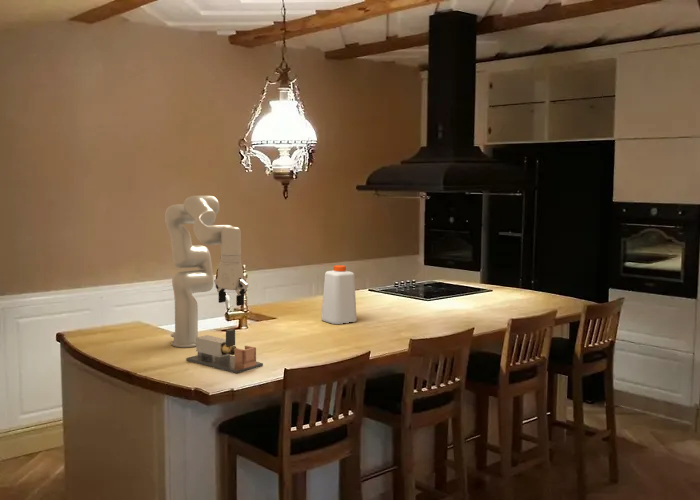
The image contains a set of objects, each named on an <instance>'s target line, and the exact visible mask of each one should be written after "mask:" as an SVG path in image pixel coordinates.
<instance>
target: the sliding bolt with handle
mask: <svg viewBox="0 0 700 500" xmlns="http://www.w3.org/2000/svg"><path fill="white" fill-rule="evenodd" d="M225 339H226V344H222V353H225V354H229V355H231V356H235V348H237V347H236V329H233V328H231V329H226V330H225Z"/></svg>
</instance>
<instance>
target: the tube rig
mask: <svg viewBox="0 0 700 500" xmlns="http://www.w3.org/2000/svg"><path fill="white" fill-rule="evenodd" d="M222 344H226V338H222V337H221V338H220V337H218V336H217V337H216V336H213V335H210V334H209V335H208V334H206V335H200V336H198V337H196V346H195V352H197V355H192V356H189V357H186V358H185V360H186V362H188V363H194V364H196V365H201V366H205V367H208V368H212V369H216V370H220V371H224V372H229V373H232V374H237V375H238V374H240V373H245V372H247V371H251V370H255V369H258V368H261V367H263V366H264V363H263V362H259V361H257V347H255V346H251V345H244V349H242V348H239V347H236V348H235V354H234V355H229V354H225V353H222Z"/></svg>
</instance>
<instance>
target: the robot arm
mask: <svg viewBox="0 0 700 500" xmlns="http://www.w3.org/2000/svg"><path fill="white" fill-rule="evenodd" d="M219 212H220V202H219V200H218V199H217V198H216V197H215V196H213V195H191V196H188V197H187V198H186V199H185V200H183V203H182V204H181V203H176V204H172V205H169V206H168V207H167V208H166V210H165V214H164V221H165V225H166V228H167V231H168V234H169V235H170V241H171V242H170V243H171V251H172V252H171V253H172V254H171V255H172V261H173V264H174V266H175V268H178V269H191V268H197V269H196V270H183V271H179V272H176V273H174V275H173V276H172V280H171V282H172V290H173V295H174V331H173V332H172V333H171V334H170V337H172V338H173V340H172V341H171V343H170V344H171V346H173V347H176V348H193V347H195V348H196V337H199V334H198V333H199V332H198V331H199V330H198V329H199V328H198V326H199V325H198V323H199V322H198V321H199V320H198V318H199V317H198V315H199V314H198V309H199V307H198V306H199V305H198V302H197V301H198V300H197V299H196V298H195V297H194V296H193V294H195V293H197V294H198V293H206V292H210V291H211V290H212V289H213V287H214V285H215V288H216V291H217V293H218V303H219V304H220V303H221V304H222V303H226V301H227V300H226V299H227V298H226V297H227V294H226V293H227V292H226V290H228V291H235V292H236V294H237V295H236V300H235V301H236V302H235V304H236V306H237V307H239V306H240V307H241V306H244V304H245V303H244V301H245V299H244V298H245V297H244V296H245V294H246V292H247V291H248V287H249V283H247V282H246V281H245V280H244V270H243V264H242V231H241V229H240V227H238V226H233V225H231V224H214V223H215V221H216V218H217V214H218V213H219ZM185 225H192V229H193V234H194V236H195V237H196V238H197V240H198V241H199V242H200V243H201V244H197V245H196V244H194V245H193V241H192V236H191V233H190V231H189V230H188V229H187V228H186V227H185ZM202 244H203V245H202ZM215 245H217V246H218V245H220V262H219V264H218V267H217V278H216V279H214V274H213V273H214V271H213V264H212V256H211V252H210V250H209V248H208V247H207V246H215Z"/></svg>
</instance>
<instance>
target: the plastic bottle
mask: <svg viewBox="0 0 700 500" xmlns="http://www.w3.org/2000/svg"><path fill="white" fill-rule="evenodd" d="M346 267H347V266H346V265H343V264H341V265H339V264H338V265H337V264H335V265H333V269H332V270H327V271H326V272H325V273H324V280H323V281H324V282H323V294H322V303H321V304H322V305H321V306H322V307H321V320H322V321H323V322H326V323H329V324H332V325H344V324H343V323H346V324H350V323H349V322H353V323H355V322H357V299H356V280H355V278H356V277H355V273H354V272H352V271H349V270H347V268H346Z"/></svg>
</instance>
